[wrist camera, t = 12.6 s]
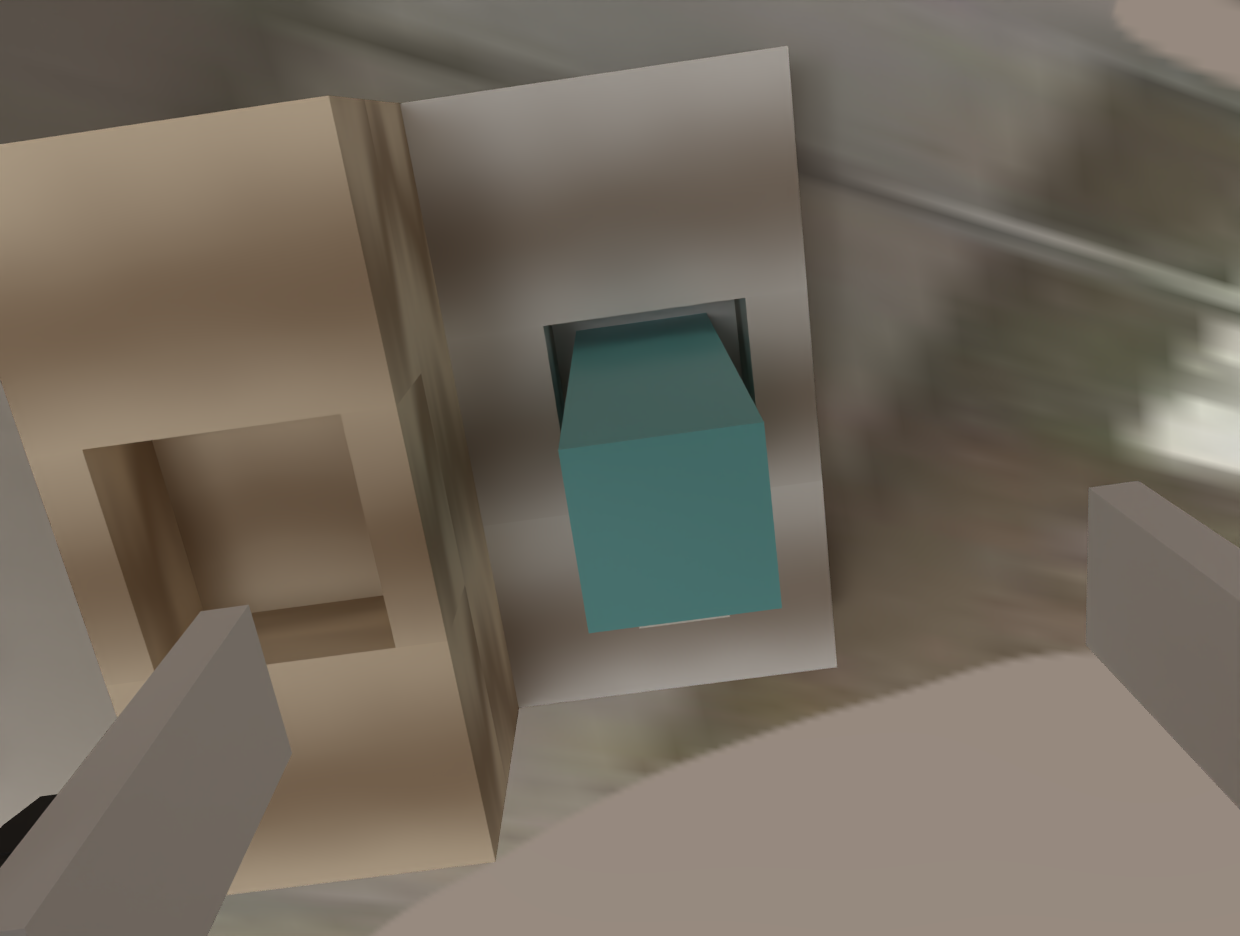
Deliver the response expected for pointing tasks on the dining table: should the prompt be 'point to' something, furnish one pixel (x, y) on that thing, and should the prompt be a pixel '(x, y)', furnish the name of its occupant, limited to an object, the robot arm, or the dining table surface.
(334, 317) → the socket block
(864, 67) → the dining table surface
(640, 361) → the plug
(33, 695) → the dining table surface
